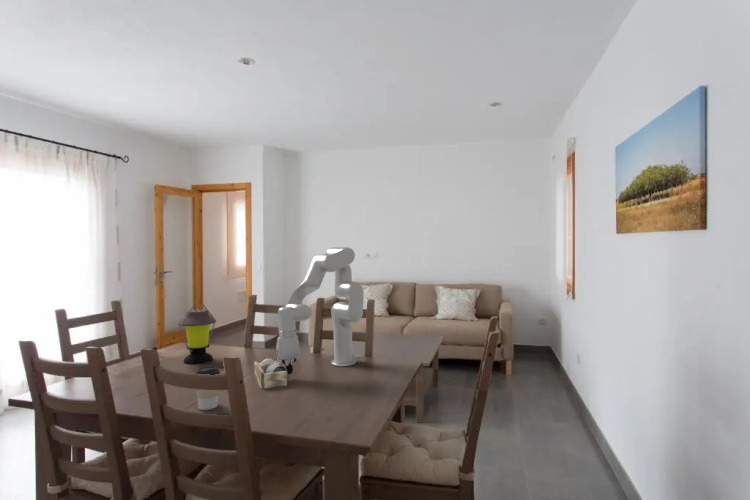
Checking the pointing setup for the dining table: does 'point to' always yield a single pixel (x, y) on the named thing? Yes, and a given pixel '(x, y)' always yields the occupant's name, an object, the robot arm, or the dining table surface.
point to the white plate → (267, 362)
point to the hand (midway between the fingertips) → (289, 373)
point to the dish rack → (269, 376)
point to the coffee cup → (207, 391)
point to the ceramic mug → (275, 368)
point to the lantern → (197, 335)
